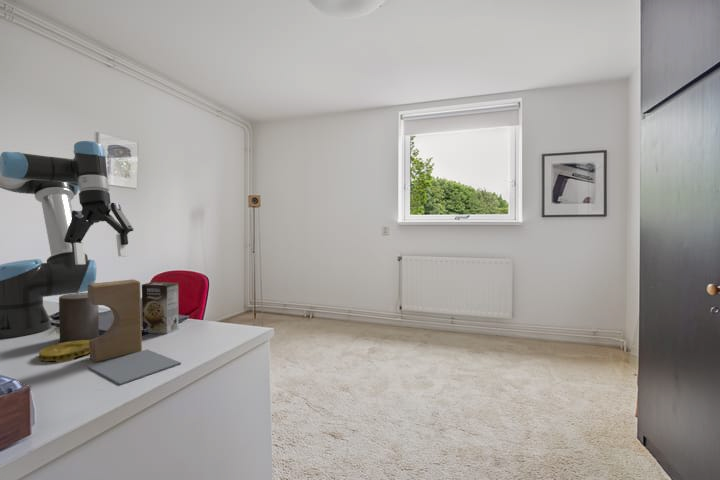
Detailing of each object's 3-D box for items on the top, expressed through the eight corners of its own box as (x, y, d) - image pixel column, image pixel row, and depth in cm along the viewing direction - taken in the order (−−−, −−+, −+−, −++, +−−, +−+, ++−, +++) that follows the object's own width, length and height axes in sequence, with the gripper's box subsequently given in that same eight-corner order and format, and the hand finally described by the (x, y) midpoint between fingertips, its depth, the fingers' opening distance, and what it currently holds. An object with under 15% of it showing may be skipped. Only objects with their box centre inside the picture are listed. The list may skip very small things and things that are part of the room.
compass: (27, 361, 91) (26, 353, 91) (72, 346, 103) (72, 338, 103) (64, 365, 89) (64, 357, 89) (106, 348, 101) (106, 341, 101)
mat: (88, 367, 87) (88, 366, 87) (147, 350, 99) (147, 349, 99) (120, 385, 78) (120, 383, 78) (180, 364, 89) (180, 362, 89)
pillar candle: (54, 345, 102) (53, 295, 102) (66, 335, 111) (65, 289, 111) (94, 341, 106) (93, 293, 106) (103, 332, 115) (102, 287, 115)
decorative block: (93, 363, 90) (91, 286, 89) (89, 357, 94) (87, 283, 93) (142, 351, 98) (140, 281, 97) (136, 346, 102) (135, 279, 101)
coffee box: (141, 333, 114) (140, 284, 114) (155, 327, 121) (154, 281, 120) (167, 334, 113) (166, 285, 112) (179, 328, 120) (178, 281, 119)
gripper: (44, 197, 103) (51, 267, 101) (123, 181, 102) (131, 252, 100) (67, 202, 111) (74, 267, 109) (141, 187, 109) (149, 253, 107)
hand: (101, 260), depth 104 cm, fingers open, 13 cm apart
